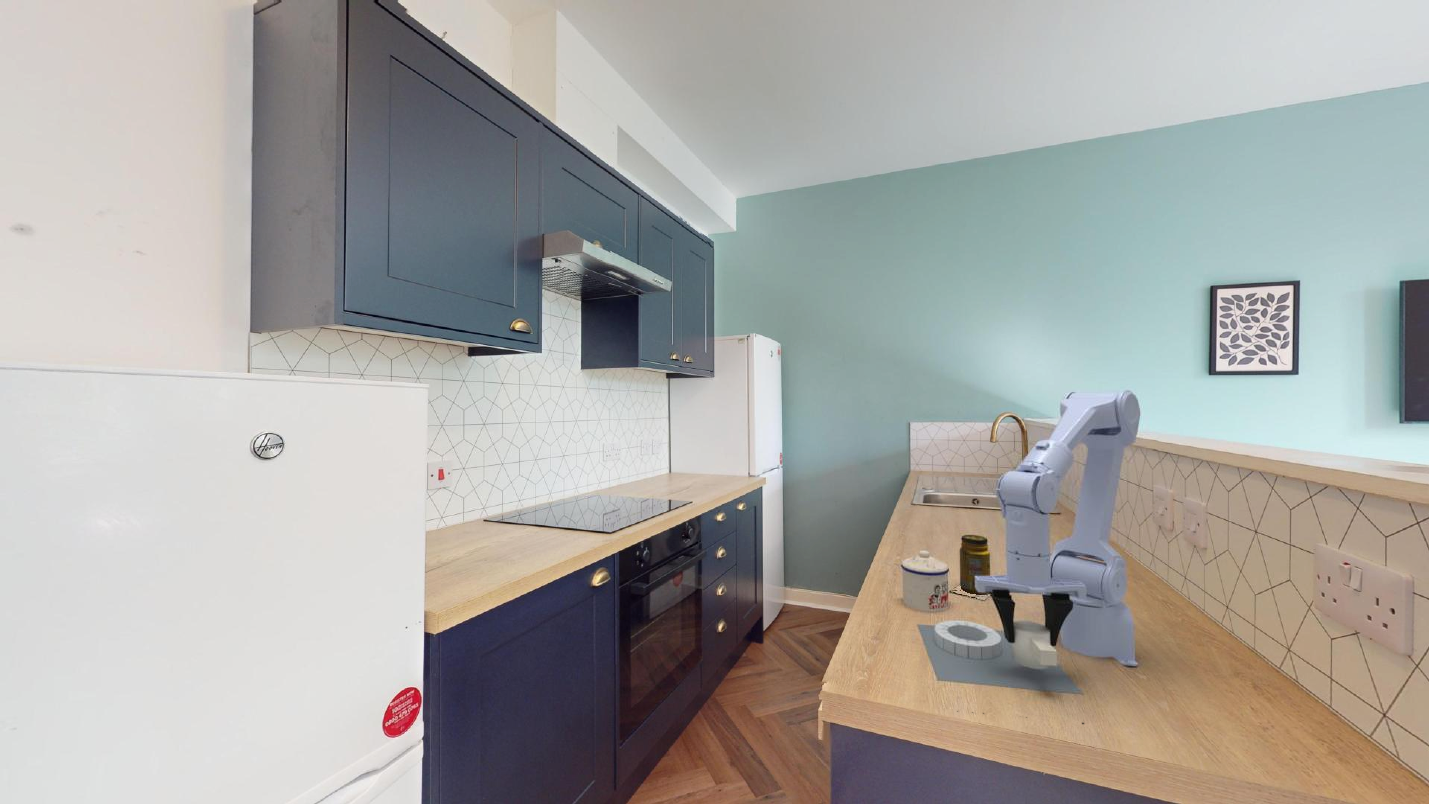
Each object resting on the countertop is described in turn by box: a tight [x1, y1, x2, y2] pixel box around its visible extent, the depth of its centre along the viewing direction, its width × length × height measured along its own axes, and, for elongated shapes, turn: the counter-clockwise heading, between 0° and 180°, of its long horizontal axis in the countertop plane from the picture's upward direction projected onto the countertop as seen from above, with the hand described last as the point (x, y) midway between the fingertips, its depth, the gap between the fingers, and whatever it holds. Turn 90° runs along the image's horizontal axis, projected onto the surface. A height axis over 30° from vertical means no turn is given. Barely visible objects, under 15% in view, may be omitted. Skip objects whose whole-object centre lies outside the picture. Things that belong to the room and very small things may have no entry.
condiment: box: [948, 534, 991, 601], centre depth 115 cm, size 7×8×12 cm
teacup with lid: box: [900, 550, 950, 613], centre depth 106 cm, size 12×9×12 cm
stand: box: [916, 619, 1085, 696], centre depth 84 cm, size 19×20×3 cm
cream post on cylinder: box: [1011, 620, 1058, 669], centre depth 76 cm, size 9×5×5 cm, turn 168°
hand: (1029, 641), depth 78 cm, fingers closed on cream post on cylinder, 5 cm apart
